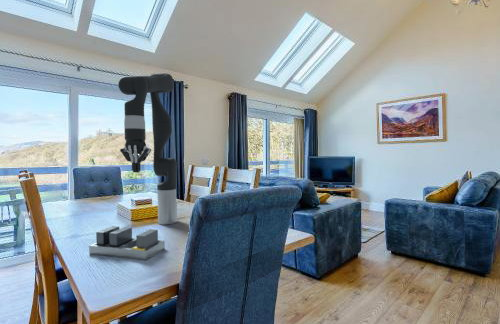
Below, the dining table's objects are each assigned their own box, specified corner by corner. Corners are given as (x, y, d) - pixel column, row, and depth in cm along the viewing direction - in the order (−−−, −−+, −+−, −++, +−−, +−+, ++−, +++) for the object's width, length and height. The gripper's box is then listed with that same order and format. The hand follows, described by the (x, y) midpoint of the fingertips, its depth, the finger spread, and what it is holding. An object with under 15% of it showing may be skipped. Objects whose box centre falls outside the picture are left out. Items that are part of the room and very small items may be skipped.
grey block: (150, 248, 101) (150, 229, 101) (158, 248, 100) (157, 229, 100) (136, 255, 93) (136, 235, 93) (144, 256, 93) (144, 236, 92)
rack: (89, 254, 97) (88, 232, 97) (112, 244, 108) (111, 224, 107) (146, 260, 91) (145, 237, 91) (164, 248, 102) (164, 228, 102)
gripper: (155, 128, 109) (156, 171, 110) (127, 129, 112) (128, 171, 113) (143, 127, 101) (145, 173, 102) (113, 127, 105) (115, 173, 106)
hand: (136, 172), depth 108 cm, fingers closed
